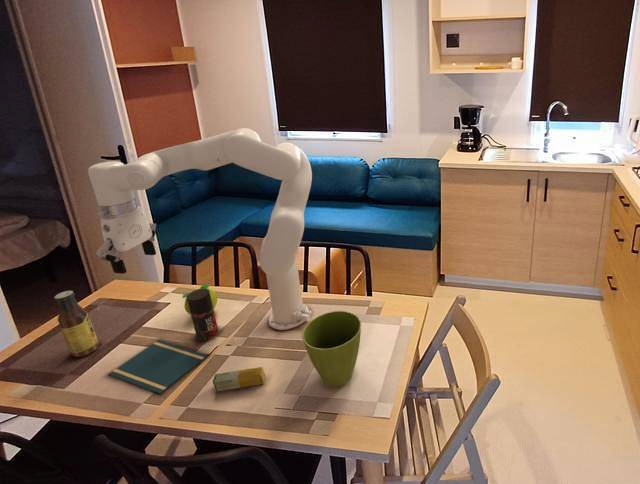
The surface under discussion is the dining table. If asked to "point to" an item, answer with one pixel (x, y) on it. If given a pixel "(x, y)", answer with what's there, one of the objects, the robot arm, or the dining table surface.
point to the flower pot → (333, 345)
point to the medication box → (239, 379)
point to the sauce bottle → (75, 325)
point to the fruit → (212, 294)
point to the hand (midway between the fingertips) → (136, 263)
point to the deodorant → (202, 314)
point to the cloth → (158, 366)
